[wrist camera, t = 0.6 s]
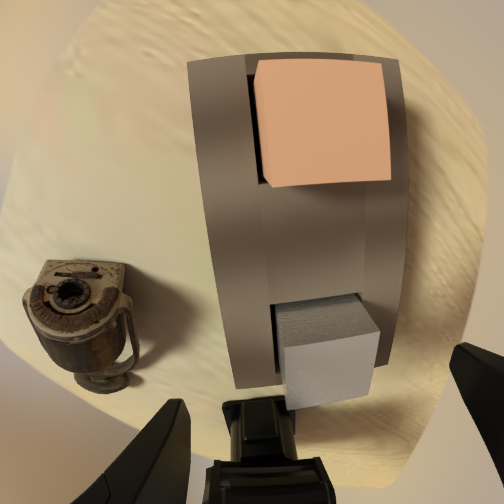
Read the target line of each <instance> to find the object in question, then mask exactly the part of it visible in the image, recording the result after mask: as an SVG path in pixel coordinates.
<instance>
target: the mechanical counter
mask: <svg viewBox="0 0 504 504" xmlns="http://www.w3.org/2000/svg"><path fill="white" fill-rule="evenodd" d="M124 273H125V265H124V264H120V263H107V262H91V261H73V260H47V261H46V262H45V264H44V266H43V268H42V270H41V272H40V274H39V276H38V279H37V281H36V282H35V284H34V285H33V287H32V288H29V289H27V291H26V292H25V294H24V296H23V298H22V301H23V306H24V309H25V311H26V314H27V316H28V318H29V320H30V322H31V324H32V326H33V328H34V330H35V332H36V334H37V336H38V338H39V341H40V343H41V345H42V346H43V348H44V349H45V351H46V352H47V353H48V355H49V356H50V357H51V359H52V360H53V361H54V362H55V363H56V364H57V365H58V366H60V367H61V368H63V369H65V370H67V371H70V372H73V373H74V379H75V380H76V382H77V384H79V385H80V386H81V387H83V388H84V389H86V390H88V391H91V392H94V393H97V394H110V393H114V392H118V391H120V390H122V389H125V388H126V387H127V386H128V385H129V383H130V379H129V378H128V377H127V376H126V374H124V373H126V372H128V371H130V370H131V369H133V367H134V366H135V365H136V364H137V363H138V360H139V352H140V344H139V339H138V334H137V327H136V320H135V313H134V307H133V300H132V299H131V298H130V296H128V295H126V294H124V293H122V287H123V281H124ZM122 311H125V313H126V318H127V324H128V330H129V335H130V340H131V344H132V348H133V355H132V356H131V357H129V358H128V359H127V360H126V361H124V362H122V363H120V364H116V365H111V364H112V363H113V362H114V361H115V360H116V359H117V358H118V357H119V355H120V354H121V353H122V351H123V349H124V346H125V343H126V331H125V326H124V319H123V313H122ZM110 365H111V366H110Z"/></svg>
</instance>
